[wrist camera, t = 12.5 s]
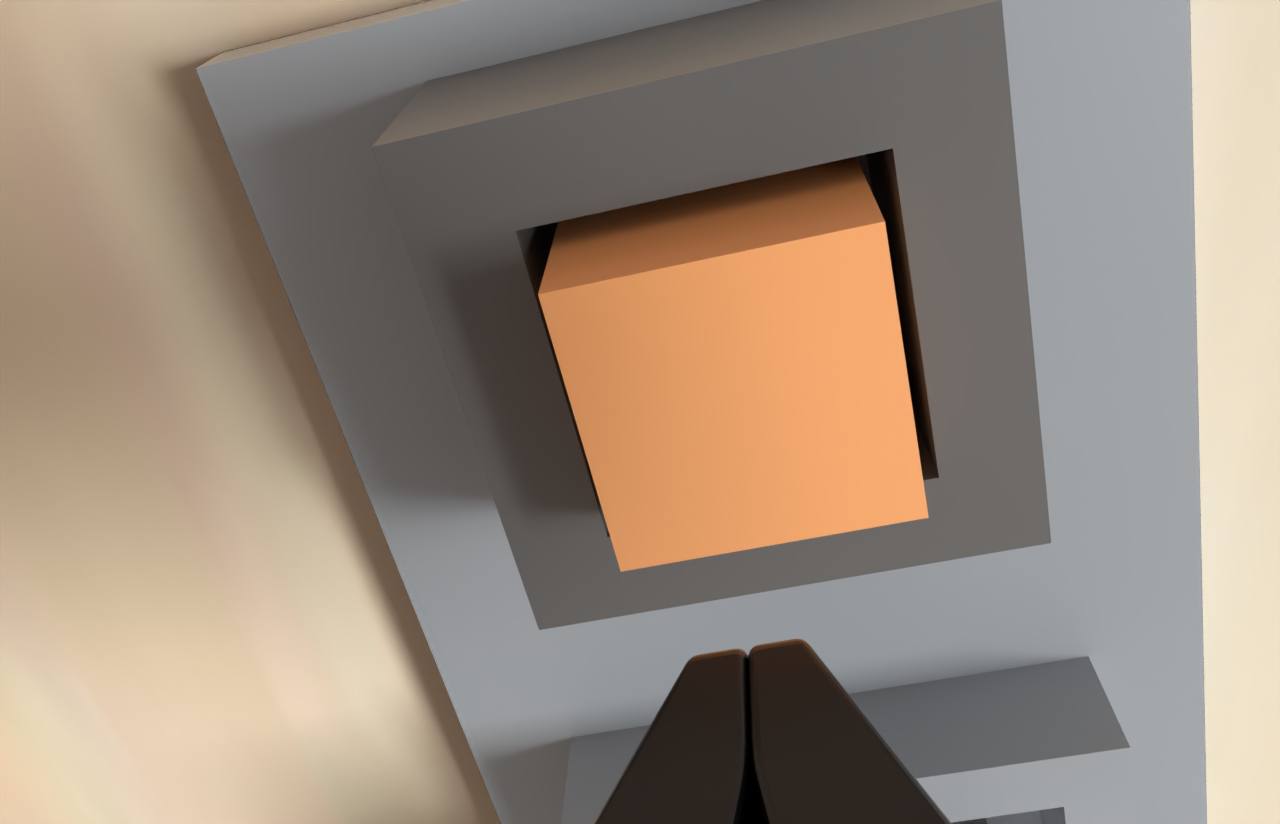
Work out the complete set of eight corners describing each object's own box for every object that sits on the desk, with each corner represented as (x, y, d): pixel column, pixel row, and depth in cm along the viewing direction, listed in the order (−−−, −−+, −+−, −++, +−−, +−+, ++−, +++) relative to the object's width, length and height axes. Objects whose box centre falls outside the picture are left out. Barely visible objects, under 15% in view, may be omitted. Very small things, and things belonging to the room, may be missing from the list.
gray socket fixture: (1193, 1057, 25) (1277, 1268, 21) (640, 1119, 27) (633, 1324, 23) (1154, -181, 14) (1312, -165, 11) (222, 52, 16) (90, 131, 12)
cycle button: (886, 389, 15) (928, 518, 13) (631, 438, 16) (621, 571, 13) (846, 136, 14) (884, 221, 11) (564, 198, 14) (537, 293, 12)
